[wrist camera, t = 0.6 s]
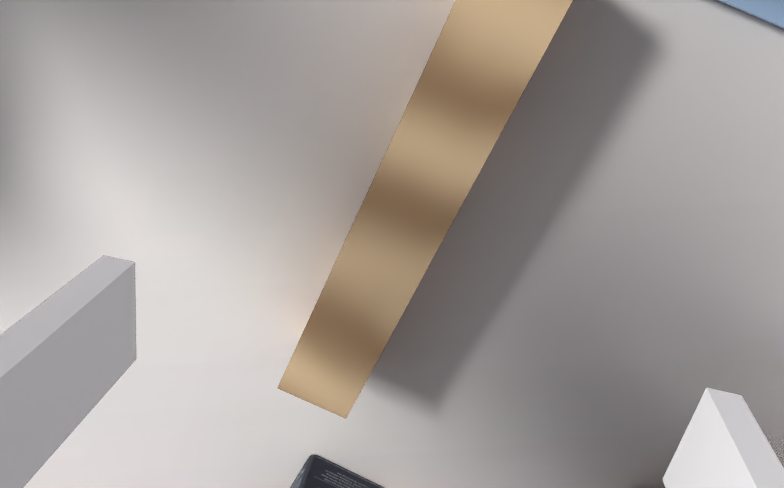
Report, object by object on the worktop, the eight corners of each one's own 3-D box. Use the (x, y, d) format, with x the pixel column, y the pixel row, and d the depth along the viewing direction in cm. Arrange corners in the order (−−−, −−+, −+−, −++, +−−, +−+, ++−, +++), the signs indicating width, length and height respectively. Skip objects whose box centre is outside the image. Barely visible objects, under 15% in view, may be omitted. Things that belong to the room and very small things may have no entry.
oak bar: (362, 363, 38) (345, 418, 34) (301, 336, 38) (277, 388, 33) (571, -31, 28) (588, -28, 23) (490, -72, 28) (491, -77, 23)
